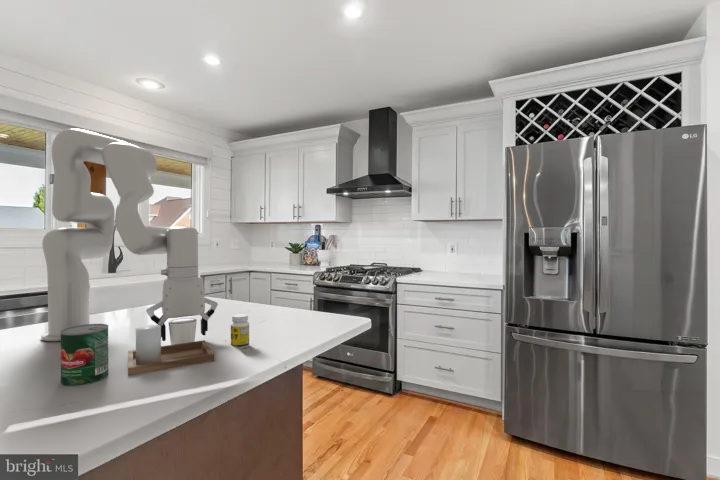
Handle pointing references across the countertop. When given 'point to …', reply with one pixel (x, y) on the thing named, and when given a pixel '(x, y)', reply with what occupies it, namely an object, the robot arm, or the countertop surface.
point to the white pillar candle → (148, 344)
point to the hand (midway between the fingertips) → (183, 336)
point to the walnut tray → (173, 357)
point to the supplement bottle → (240, 331)
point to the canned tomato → (84, 354)
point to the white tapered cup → (182, 330)
